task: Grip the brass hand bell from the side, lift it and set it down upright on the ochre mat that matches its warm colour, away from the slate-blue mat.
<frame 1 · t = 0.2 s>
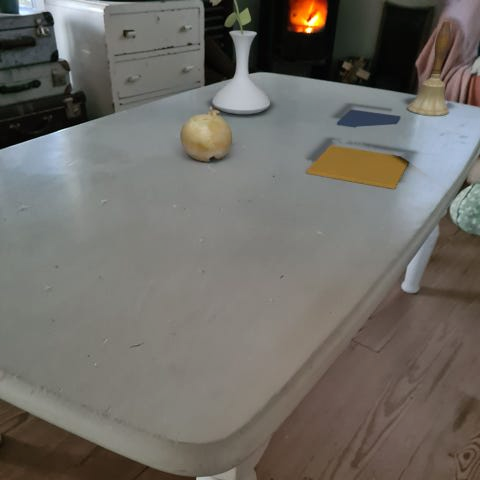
onion: (206, 158, 81), on the table
blue mat: (369, 121, 99), on the table
hand bell: (427, 111, 107), on the table
ochre mat: (359, 166, 79), on the table
flower in vase: (238, 113, 102), on the table
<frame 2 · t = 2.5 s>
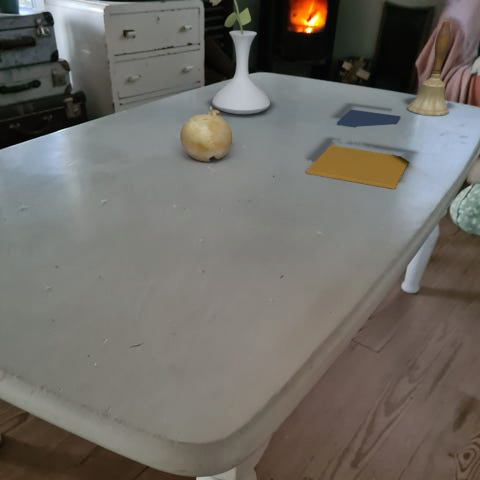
nothing on the table moved.
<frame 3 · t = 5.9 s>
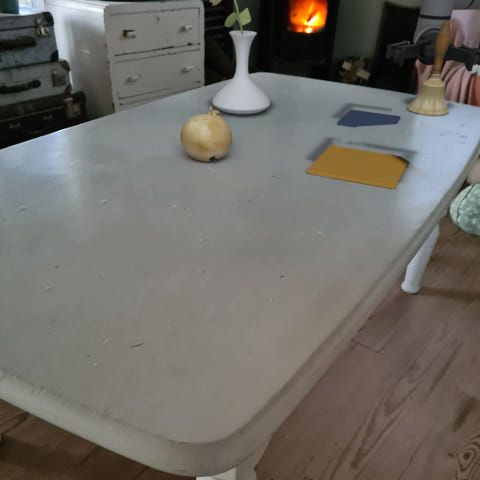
hand: (436, 61, 105), 8 cm above the table, tool horizontal, fingers open, 13 cm apart
nothing on the table moved.
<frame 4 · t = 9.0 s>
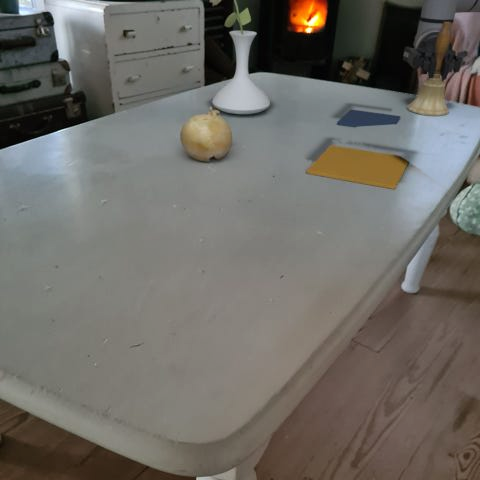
hand: (439, 71, 97), 8 cm above the table, tool horizontal, fingers closed on hand bell, 2 cm apart
hand bell: (427, 111, 107), on the table, touching gripper
everything else where it was.
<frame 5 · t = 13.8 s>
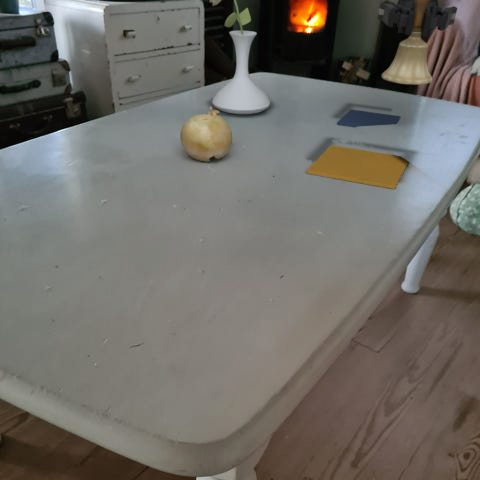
hand: (418, 25, 77), 18 cm above the table, tool horizontal, fingers closed on hand bell, 2 cm apart
hand bell: (406, 80, 86), point 9 cm above the table, touching gripper
everything else where it was.
when the fingers open (9 cm above the table, at t = 18.8 s): hand bell stays where it is, resting on ochre mat.
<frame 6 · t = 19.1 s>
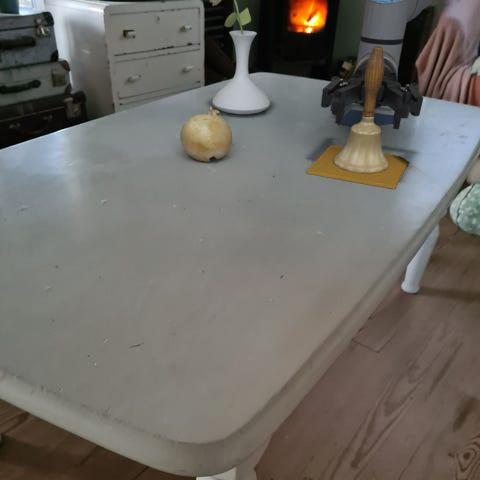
hand: (368, 116, 70), 9 cm above the table, tool horizontal, fingers open, 7 cm apart
hand bell: (360, 164, 79), resting on ochre mat
everything else where it was.
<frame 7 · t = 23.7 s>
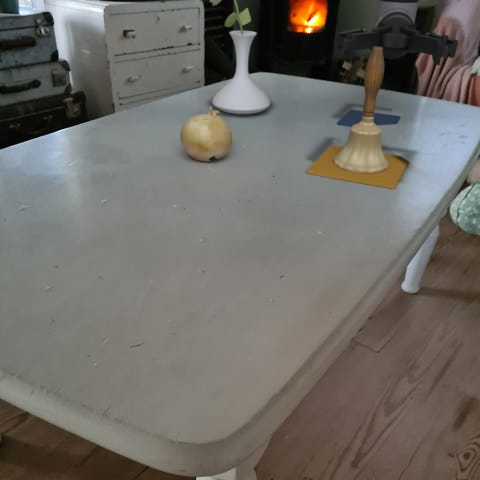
hand: (394, 52, 82), 14 cm above the table, tool horizontal, fingers open, 13 cm apart
nothing on the table moved.
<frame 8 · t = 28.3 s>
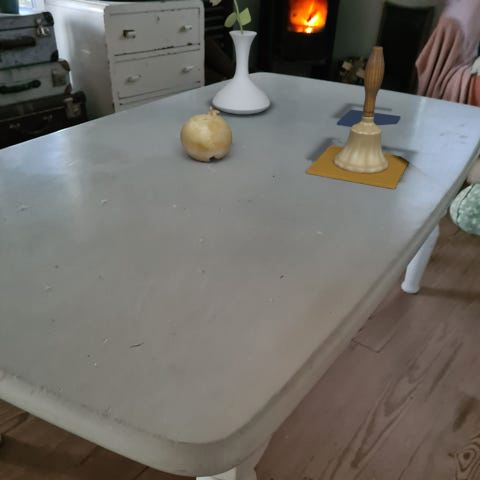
nothing on the table moved.
at the end: hand bell inside the target area on the ochre mat (0.0 cm from its centre), point 0.3 cm above the ochre mat's base; hand bell tilted 0°; the gripper is holding nothing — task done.
